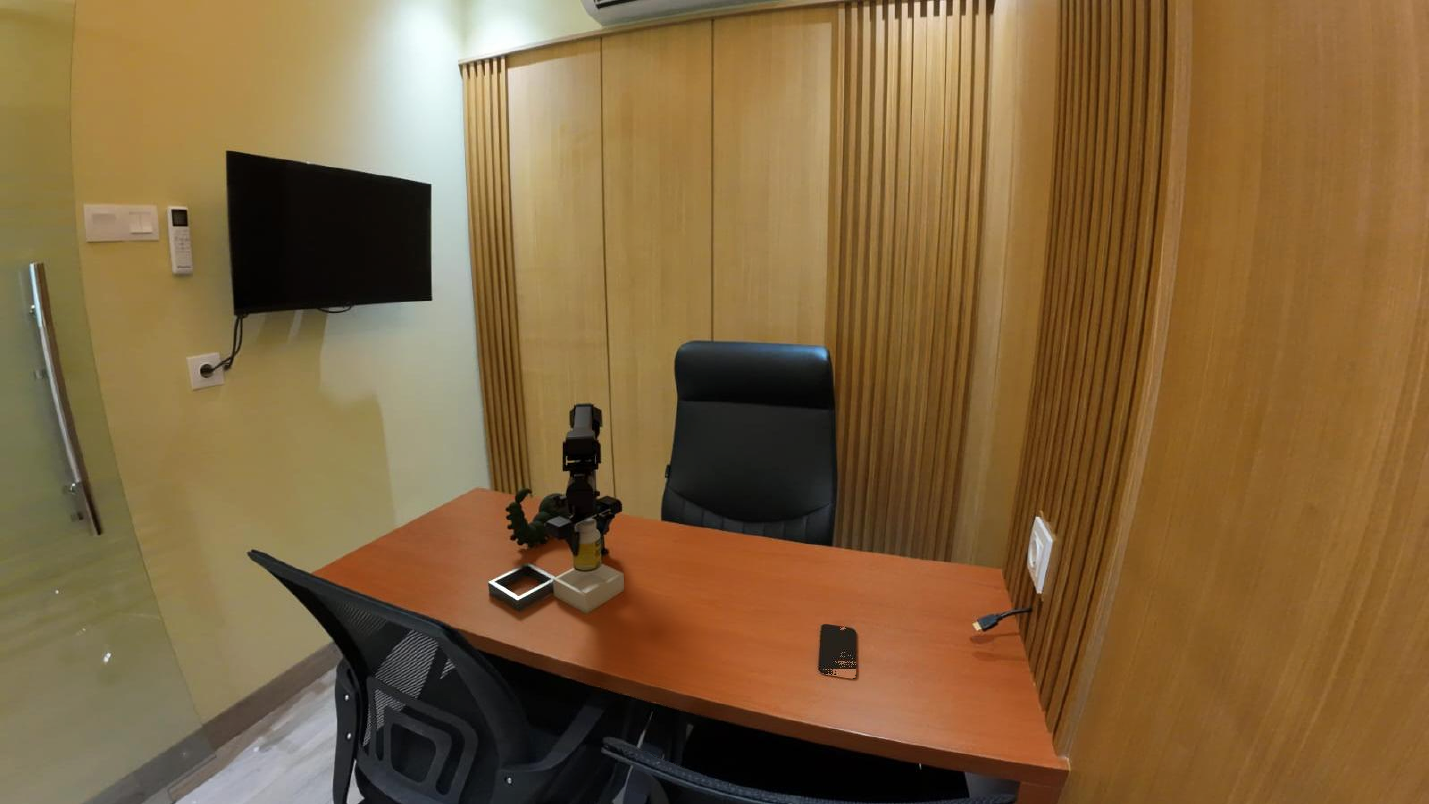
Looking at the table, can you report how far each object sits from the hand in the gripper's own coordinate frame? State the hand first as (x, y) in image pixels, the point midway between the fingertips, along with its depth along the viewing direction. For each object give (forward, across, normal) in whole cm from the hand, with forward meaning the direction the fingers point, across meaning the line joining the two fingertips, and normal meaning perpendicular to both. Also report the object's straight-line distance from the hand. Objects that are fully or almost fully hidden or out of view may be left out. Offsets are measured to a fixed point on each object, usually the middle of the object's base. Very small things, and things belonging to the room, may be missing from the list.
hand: (586, 549), depth 126 cm
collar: (+11, +9, -13) cm, 19 cm away
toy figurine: (+12, -11, -32) cm, 36 cm away
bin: (+11, 0, 0) cm, 11 cm away
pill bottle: (+5, 0, 0) cm, 5 cm away
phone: (+12, -17, +56) cm, 60 cm away
